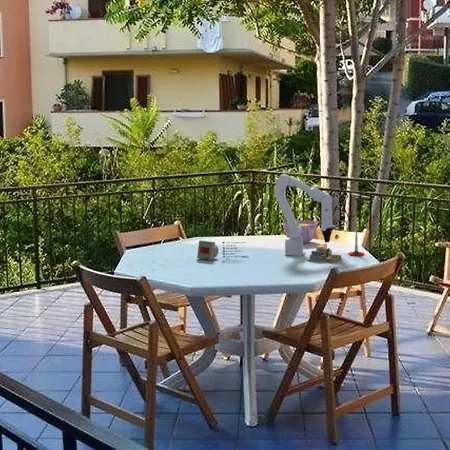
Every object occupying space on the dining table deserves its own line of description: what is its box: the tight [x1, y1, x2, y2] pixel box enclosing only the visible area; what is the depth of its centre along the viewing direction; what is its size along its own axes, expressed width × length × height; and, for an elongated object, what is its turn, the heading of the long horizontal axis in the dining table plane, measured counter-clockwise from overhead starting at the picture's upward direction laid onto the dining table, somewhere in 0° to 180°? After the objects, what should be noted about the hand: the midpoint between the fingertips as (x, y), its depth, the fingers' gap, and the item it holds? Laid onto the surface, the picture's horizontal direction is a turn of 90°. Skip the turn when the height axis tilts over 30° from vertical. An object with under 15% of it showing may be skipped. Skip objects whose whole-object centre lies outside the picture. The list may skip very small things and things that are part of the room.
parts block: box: [325, 254, 342, 264], centre depth 411 cm, size 5×11×2 cm, turn 157°
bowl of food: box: [283, 220, 318, 245], centre depth 467 cm, size 20×20×12 cm
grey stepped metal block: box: [306, 247, 334, 263], centre depth 417 cm, size 10×17×5 cm, turn 157°
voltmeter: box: [196, 240, 247, 261], centre depth 423 cm, size 27×11×10 cm, turn 85°
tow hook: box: [347, 231, 365, 257], centre depth 426 cm, size 8×13×9 cm
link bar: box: [316, 243, 328, 253], centre depth 419 cm, size 3×9×4 cm, turn 157°
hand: (327, 242), depth 428 cm, fingers closed
